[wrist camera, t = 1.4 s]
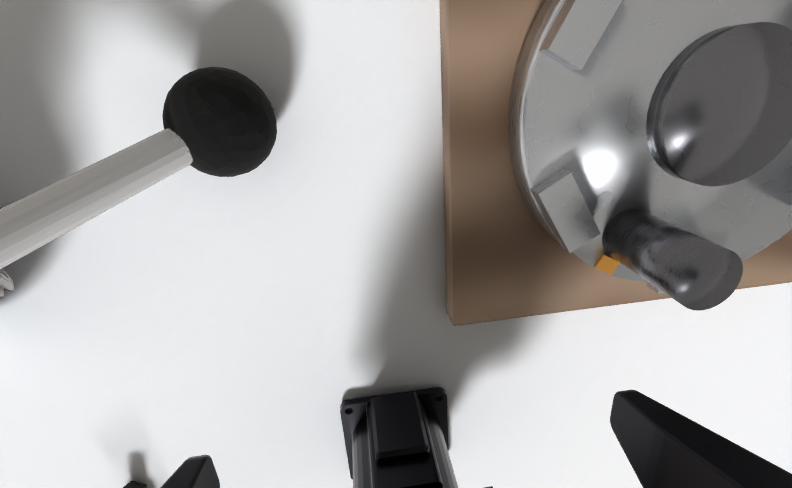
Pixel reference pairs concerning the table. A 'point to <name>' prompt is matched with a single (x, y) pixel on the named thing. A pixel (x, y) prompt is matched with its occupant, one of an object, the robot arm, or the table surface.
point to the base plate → (516, 188)
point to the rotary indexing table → (658, 136)
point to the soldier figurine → (135, 485)
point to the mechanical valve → (150, 160)
